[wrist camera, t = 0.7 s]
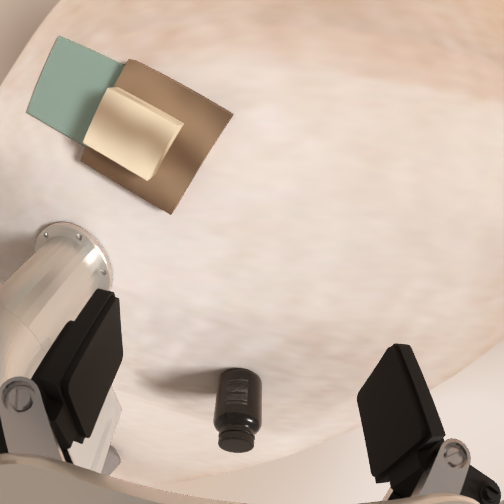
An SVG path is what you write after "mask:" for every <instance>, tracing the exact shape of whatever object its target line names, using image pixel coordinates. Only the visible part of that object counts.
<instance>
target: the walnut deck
mask: <svg viewBox="0 0 504 504" xmlns="http://www.w3.org/2000/svg"><path fill="white" fill-rule="evenodd" d="M114 87H119V88H121V89H123V90H124V91H126V92H128V93H130V94H132V95H134V96H136V97H138V98H139V99H141V100H143V101H145V102H147V103H149V104H151V105H152V106H154V107H156V108H158V109H160V110H161V111H163V112H165V113H167V114H168V115H170V116H172V117H174V118H176V119H177V120H179V121H181V122H182V123H184V124H183V126H182V128H181V129H180V131H179V133H178V135H177V136H176V138H175V140H174V141H173V143H172V145H171V147H170V148H169V150H168V152H167V154H166V156H165V157H164V159H163V161H162V163H161V165H160V167H159V168H158V170H157V172H156V174H155V175H154V176H153V177H152V178H150V179H149V180H148V181H147V180H145V179H143V178H142V177H140V176H138V175H137V174H135V173H133V172H132V171H130V170H128V169H127V168H125V167H123V166H121V165H120V164H118V163H116V162H115V161H113V160H111V159H110V158H108V157H106V156H105V155H103V154H101V153H99V152H98V151H96V150H94V149H93V148H91V147H89V146H88V145H86V148H85V150H84V153H83V155H82V158H81V160H80V161H82V162H84V163H85V164H87V165H88V166H90V167H92V168H93V169H95V170H97V171H98V172H100V173H102V174H103V175H105V176H107V177H108V178H110V179H112V180H113V181H115V182H117V183H118V184H120V185H122V186H123V187H125V188H127V189H128V190H130V191H132V192H133V193H135V194H137V195H138V196H140V197H142V198H143V199H145V200H147V201H148V202H150V203H152V204H153V205H155V206H157V207H159V208H160V209H162V210H164V211H165V212H167V213H169V214H170V215H171V214H172V213H173V211H174V210H175V208H176V207H177V205H178V203H179V201H180V200H181V198H182V196H183V195H184V193H185V191H186V189H187V188H188V186H189V184H190V183H191V181H192V179H193V178H194V176H195V174H196V173H197V171H198V169H199V168H200V166H201V165H202V163H203V161H204V160H205V158H206V157H207V155H208V153H209V152H210V150H211V149H212V147H213V145H214V144H215V142H216V141H217V139H218V138H219V136H220V134H221V133H222V131H223V130H224V128H225V127H226V125H227V124H228V122H229V121H230V119H231V118H232V116H233V115H234V114H233V113H231V112H229V111H228V110H226V109H224V108H223V107H221V106H219V105H218V104H216V103H214V102H212V101H211V100H209V99H207V98H206V97H204V96H202V95H200V94H198V93H197V92H195V91H193V90H191V89H190V88H188V87H186V86H184V85H182V84H181V83H179V82H177V81H175V80H173V79H171V78H169V77H167V76H166V75H164V74H162V73H160V72H158V71H156V70H154V69H152V68H150V67H148V66H146V65H144V64H142V63H140V62H138V61H136V60H130V59H129V60H128V61H127V63H126V65H125V67H124V68H123V70H122V72H121V74H120V76H119V78H118V80H117V81H116V83H115V85H114Z"/></svg>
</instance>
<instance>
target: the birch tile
mask: <svg viewBox="0 0 504 504" xmlns="http://www.w3.org/2000/svg"><path fill="white" fill-rule="evenodd" d="M183 124H184V123H182V122H181V121H179V120H177V119H176V118H174V117H172V116H170V115H168V114H167V113H165V112H163V111H161V110H160V109H158V108H156V107H154V106H152V105H151V104H149V103H147V102H145V101H143V100H141V99H139V98H138V97H136V96H134V95H132V94H130V93H128V92H126V91H124V90H123V89H121V88H119V87H112V88H107V90H106V92H105V94H104V96H103V98H102V100H101V102H100V104H99V106H98V109H97V111H96V113H95V115H94V117H93V119H92V122H91V124H90V126H89V129H88V131H87V133H86V136H85V138H84V140H83V143H84V144H86V145H88V146H89V147H91V148H93V149H94V150H96V151H98V152H99V153H101V154H103V155H105V156H106V157H108V158H110V159H111V160H113V161H115V162H116V163H118V164H120V165H121V166H123V167H125V168H127V169H128V170H130V171H132V172H133V173H135V174H137V175H138V176H140V177H142V178H143V179H145V180H147V181H148V180H149V179H150V178H152V177H153V176H154V175H155V174H156V172H157V170H158V168H159V167H160V165H161V163H162V161H163V159H164V157H165V156H166V154H167V152H168V150H169V148H170V147H171V145H172V143H173V141H174V140H175V138H176V136H177V135H178V133H179V131H180V129H181V128H182V126H183Z"/></svg>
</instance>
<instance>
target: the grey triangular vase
mask: <svg viewBox="0 0 504 504" xmlns="http://www.w3.org/2000/svg"><path fill="white" fill-rule="evenodd" d="M121 411H122V407H121V405H120V403H119V401H118V398H117V396H116V394H115V392H114V390H113V387H112V385H111V387H110V390H109V392H108V394H107V397H106V399H105V402H104V404H103V407H102V409H101V412H100V414H99V417H98V419H97V422H96V424H95V427H94V429H93V432H92V434H91V436H90V438H85V439H84V442H83V444H80V443H78V442H75V441H73V444H72V446H71V448H69V451H70V454H71V456H72V458H73V461H74V463H75V465H77V466H80V467H83V468H86V469H89V470H92V471H95V472H98V473H101V471H102V468H103V465H104V462H105V459H106V456H107V452H108V449H109V446H110V443H111V440H112V437H113V434H114V431H115V428H116V426H117V423H118V420H119V417H120V414H121Z"/></svg>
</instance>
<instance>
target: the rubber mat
mask: <svg viewBox="0 0 504 504" xmlns="http://www.w3.org/2000/svg"><path fill="white" fill-rule="evenodd" d="M124 67H125V65H123V64H121V63H119V62H117V61H115V60H112V59H110V58H108V57H106V56H104V55H102V54H100V53H97V52H95V51H93V50H91V49H89V48H86V47H84V46H82V45H80V44H77V43H75V42H73V41H70V40H68V39H65V38H63V37H61V36H59V37H58V39H57V41H56V43H55V45H54V47H53V49H52V51H51V53H50V55H49V57H48V60H47V62H46V64H45V66H44V69H43V71H42V73H41V76H40V78H39V80H38V83H37V85H36V88H35V91H34V93H33V96H32V99H31V101H30V104H29V107H28V110H27V113H29V114H31V115H32V116H34V117H36V118H37V119H39V120H41V121H43V122H44V123H46V124H48V125H49V126H51V127H53V128H55V129H56V130H58V131H60V132H61V133H63V134H65V135H66V136H68V137H70V138H72V139H73V140H75V141H77V142H78V143H80V144H82V145H83V146H85V147H86V144H84V143H83V140H84V138H85V136H86V133H87V131H88V129H89V126H90V124H91V122H92V119H93V117H94V115H95V113H96V111H97V109H98V106H99V104H100V102H101V100H102V98H103V96H104V94H105V92H106V90H107V88H112V87H114V85H115V83H116V81H117V80H118V78H119V76H120V74H121V72H122V70H123V68H124Z"/></svg>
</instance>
